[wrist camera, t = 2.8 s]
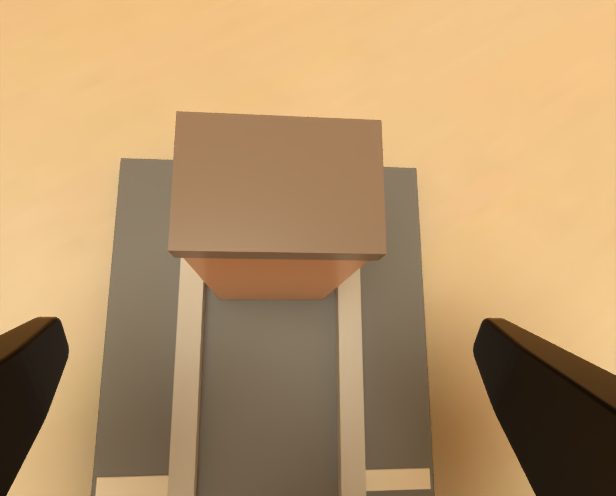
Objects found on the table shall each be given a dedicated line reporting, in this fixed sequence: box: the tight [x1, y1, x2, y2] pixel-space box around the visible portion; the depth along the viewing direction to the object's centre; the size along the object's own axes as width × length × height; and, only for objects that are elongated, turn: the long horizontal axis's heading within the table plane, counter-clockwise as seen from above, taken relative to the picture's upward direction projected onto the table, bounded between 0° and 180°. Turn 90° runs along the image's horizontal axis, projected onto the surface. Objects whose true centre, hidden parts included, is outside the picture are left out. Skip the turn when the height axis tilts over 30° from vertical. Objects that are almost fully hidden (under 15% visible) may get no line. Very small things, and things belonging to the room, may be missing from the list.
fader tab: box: [168, 111, 387, 300], centre depth 16 cm, size 3×5×11 cm
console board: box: [91, 158, 435, 496], centre depth 19 cm, size 24×14×2 cm, turn 0°
